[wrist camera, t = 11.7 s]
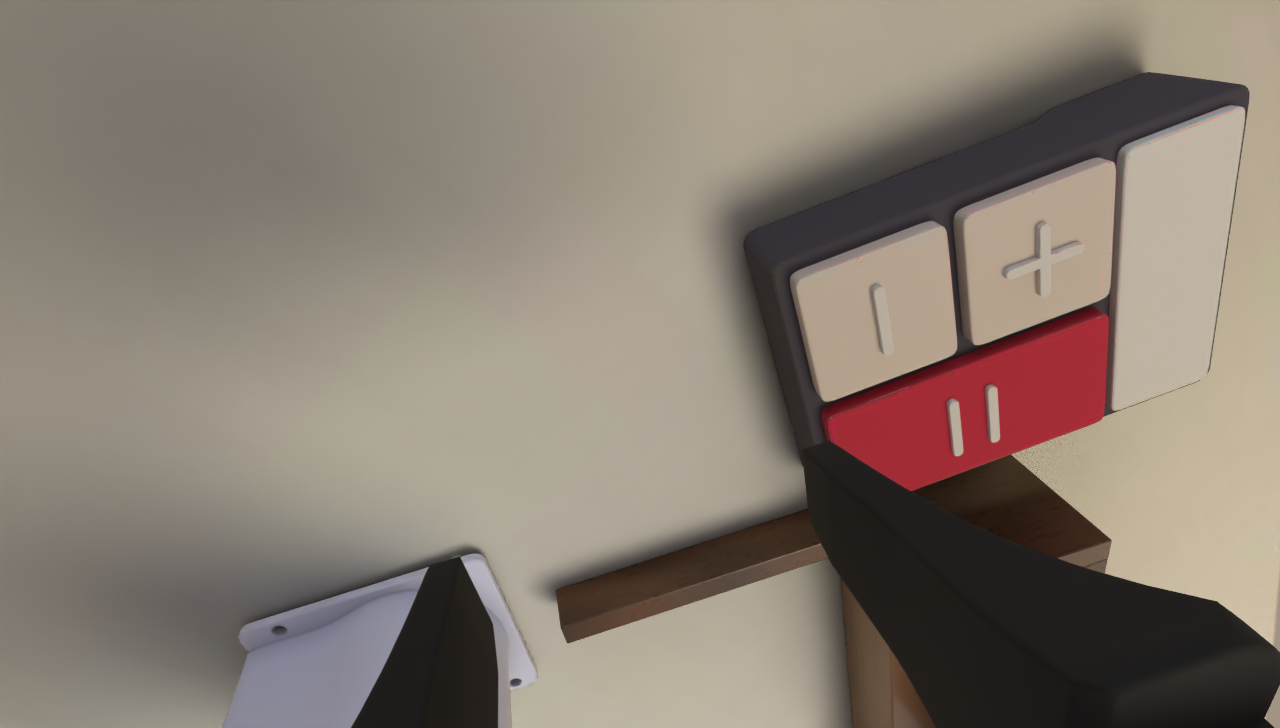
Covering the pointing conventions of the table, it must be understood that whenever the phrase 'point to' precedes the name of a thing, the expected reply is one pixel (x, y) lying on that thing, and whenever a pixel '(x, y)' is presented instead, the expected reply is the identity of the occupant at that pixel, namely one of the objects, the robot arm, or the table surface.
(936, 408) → the calculator
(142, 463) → the table surface
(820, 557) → the rack
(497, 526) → the table surface
